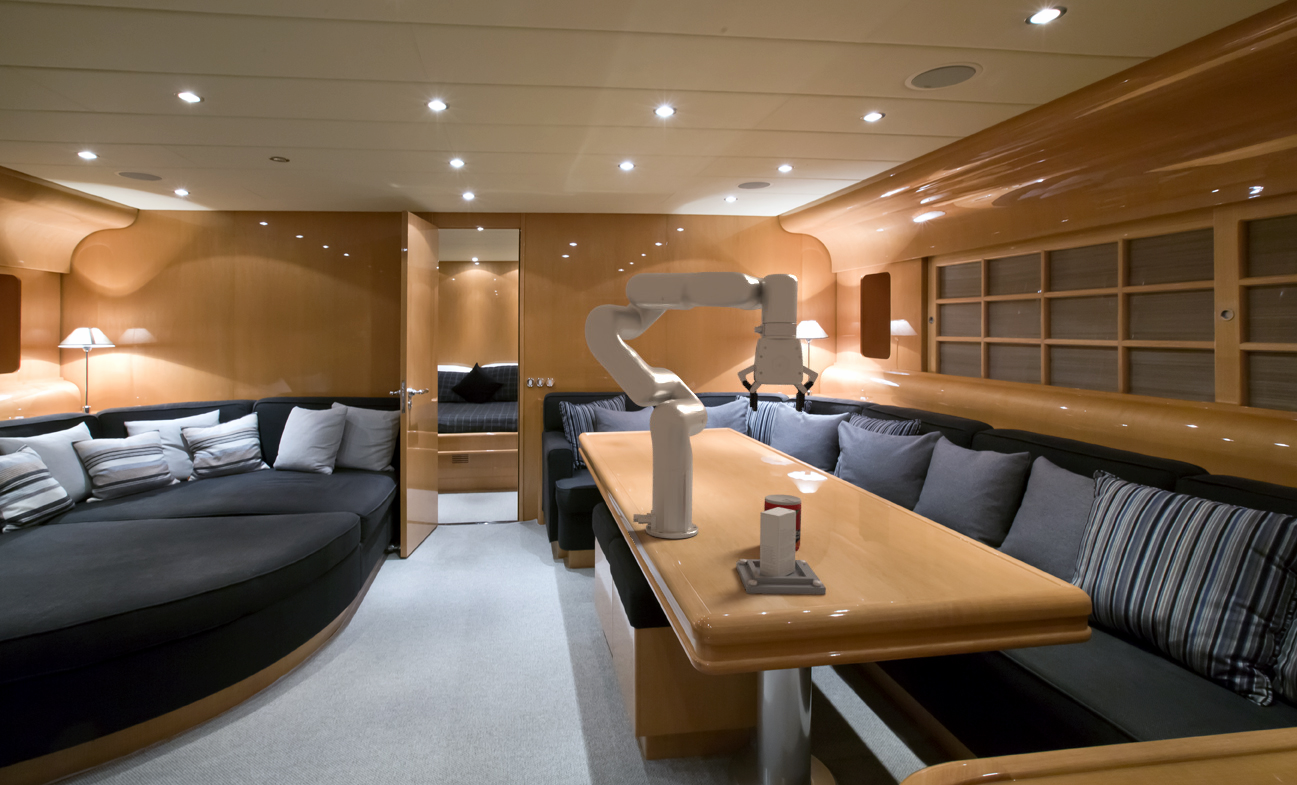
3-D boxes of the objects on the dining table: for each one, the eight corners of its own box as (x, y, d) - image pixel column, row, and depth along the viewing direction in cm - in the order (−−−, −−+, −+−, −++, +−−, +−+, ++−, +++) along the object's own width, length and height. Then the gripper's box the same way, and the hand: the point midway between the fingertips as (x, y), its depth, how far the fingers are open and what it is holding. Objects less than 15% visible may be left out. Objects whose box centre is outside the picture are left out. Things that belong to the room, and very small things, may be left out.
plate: (747, 593, 114) (747, 581, 114) (736, 567, 128) (736, 556, 128) (825, 594, 114) (825, 582, 114) (806, 568, 128) (806, 557, 128)
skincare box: (776, 567, 125) (778, 506, 124) (795, 572, 122) (797, 510, 121) (758, 574, 120) (759, 511, 120) (777, 580, 117) (779, 515, 117)
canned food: (800, 553, 137) (802, 503, 137) (763, 550, 139) (764, 500, 138) (799, 543, 145) (800, 495, 144) (763, 540, 147) (764, 493, 146)
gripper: (741, 331, 134) (739, 412, 135) (823, 332, 134) (821, 413, 135) (736, 332, 142) (734, 409, 143) (814, 333, 142) (812, 410, 143)
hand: (776, 411), depth 139 cm, fingers open, 9 cm apart
